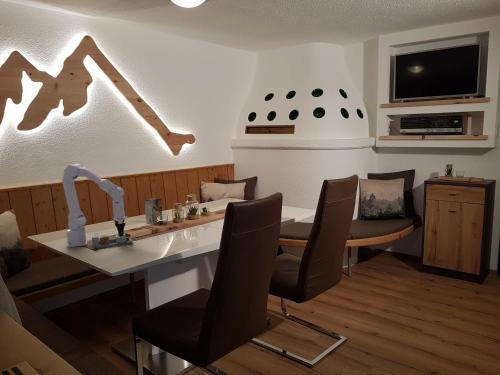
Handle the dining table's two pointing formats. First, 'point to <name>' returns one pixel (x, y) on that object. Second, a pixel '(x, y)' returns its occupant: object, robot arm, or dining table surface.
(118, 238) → the ram
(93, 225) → the dining table surface
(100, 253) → the dining table surface
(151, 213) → the coffee box
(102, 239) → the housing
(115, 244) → the press frame
